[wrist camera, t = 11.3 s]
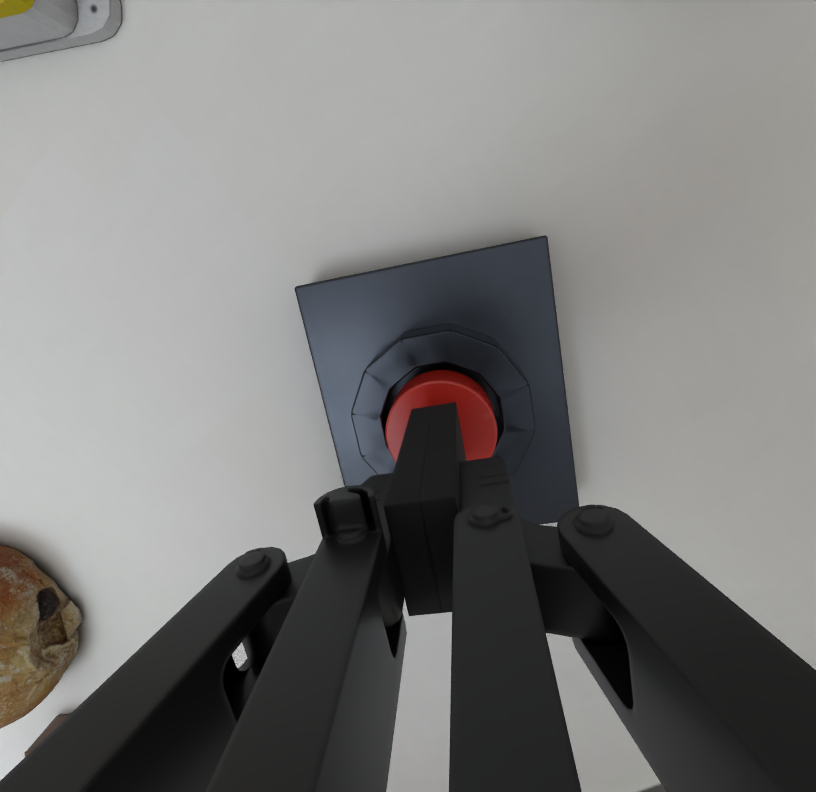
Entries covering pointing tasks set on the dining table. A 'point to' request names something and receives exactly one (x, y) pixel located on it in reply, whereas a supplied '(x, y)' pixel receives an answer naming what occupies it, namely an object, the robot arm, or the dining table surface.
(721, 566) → the dining table surface
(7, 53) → the emergency button
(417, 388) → the button
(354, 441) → the button box
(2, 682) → the bread roll
